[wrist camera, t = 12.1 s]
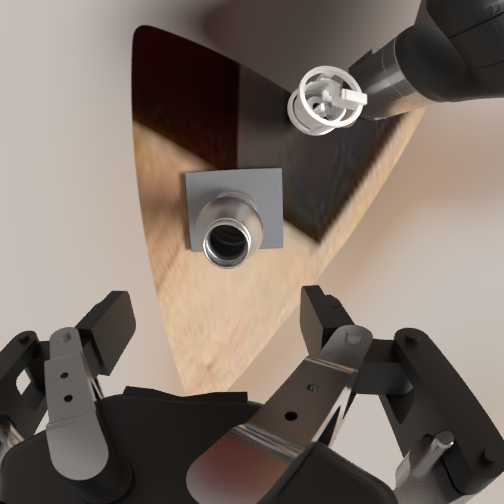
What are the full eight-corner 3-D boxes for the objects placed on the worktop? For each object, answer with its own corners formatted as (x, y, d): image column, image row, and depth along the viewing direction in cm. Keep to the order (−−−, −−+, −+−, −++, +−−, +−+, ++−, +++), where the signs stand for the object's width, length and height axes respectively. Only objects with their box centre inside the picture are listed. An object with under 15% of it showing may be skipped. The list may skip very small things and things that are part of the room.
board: (187, 173, 39) (185, 173, 38) (280, 168, 39) (281, 168, 38) (192, 249, 43) (191, 251, 42) (282, 245, 43) (283, 247, 42)
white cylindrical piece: (326, 142, 38) (367, 130, 24) (280, 137, 38) (300, 119, 24) (327, 99, 36) (366, 70, 22) (282, 93, 36) (302, 57, 22)
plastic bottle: (231, 241, 41) (220, 301, 22) (203, 204, 39) (166, 236, 20) (266, 216, 40) (286, 257, 21) (239, 178, 39) (234, 184, 19)
